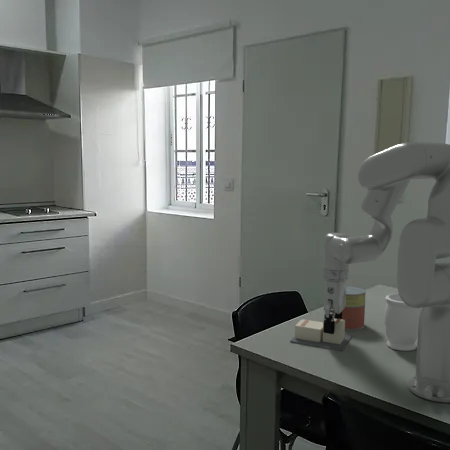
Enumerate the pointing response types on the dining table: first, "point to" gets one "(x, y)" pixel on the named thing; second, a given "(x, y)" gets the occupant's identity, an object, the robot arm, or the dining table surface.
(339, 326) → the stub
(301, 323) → the cream striped box
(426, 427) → the dining table surface
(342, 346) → the mat
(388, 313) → the jar
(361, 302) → the canned food
